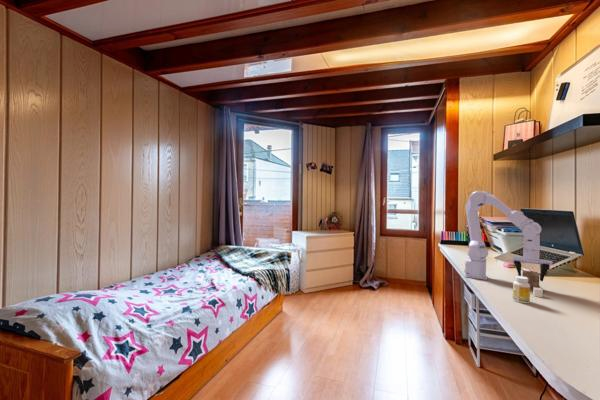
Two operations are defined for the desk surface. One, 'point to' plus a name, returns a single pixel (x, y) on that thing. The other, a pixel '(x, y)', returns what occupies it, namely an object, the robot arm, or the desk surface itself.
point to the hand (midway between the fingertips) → (530, 279)
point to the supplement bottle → (521, 290)
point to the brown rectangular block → (532, 278)
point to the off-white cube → (537, 292)
